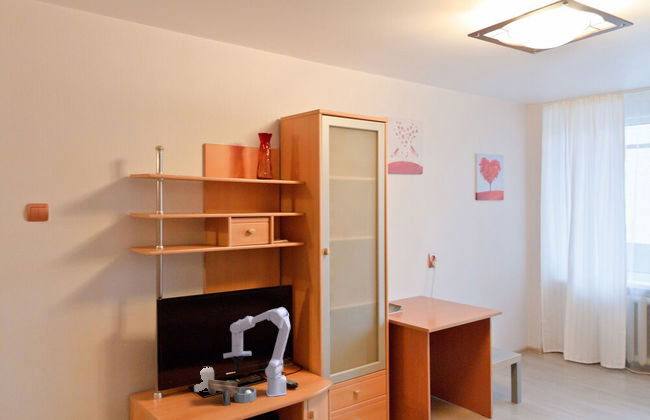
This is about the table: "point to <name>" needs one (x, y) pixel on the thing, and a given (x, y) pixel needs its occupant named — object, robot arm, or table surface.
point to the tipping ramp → (222, 386)
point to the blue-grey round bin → (245, 395)
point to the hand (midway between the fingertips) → (237, 370)
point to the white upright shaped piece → (204, 379)
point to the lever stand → (226, 397)
